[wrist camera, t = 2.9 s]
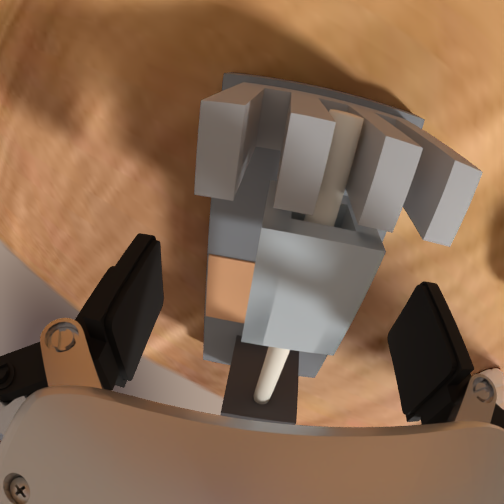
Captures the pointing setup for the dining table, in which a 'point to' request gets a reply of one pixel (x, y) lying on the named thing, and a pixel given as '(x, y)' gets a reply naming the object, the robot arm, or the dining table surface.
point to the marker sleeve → (309, 279)
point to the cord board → (305, 205)
